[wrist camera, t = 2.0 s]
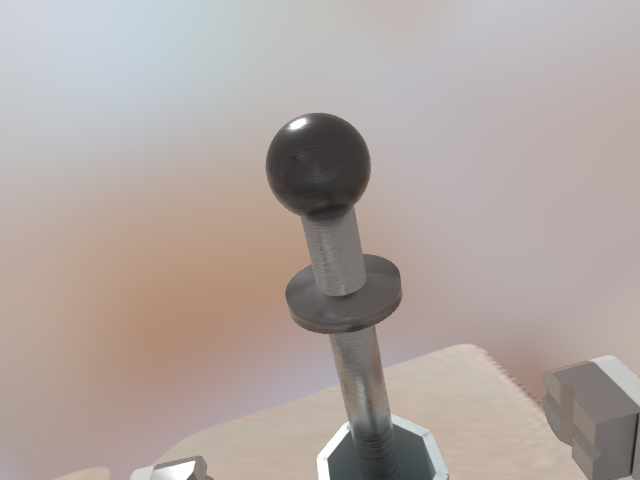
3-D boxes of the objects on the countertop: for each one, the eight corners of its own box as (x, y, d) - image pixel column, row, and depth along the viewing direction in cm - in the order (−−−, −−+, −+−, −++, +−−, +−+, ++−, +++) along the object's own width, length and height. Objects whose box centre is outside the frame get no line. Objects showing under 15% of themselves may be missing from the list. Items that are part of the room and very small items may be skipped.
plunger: (349, 551, 27) (235, 143, 16) (336, 466, 32) (244, 119, 22) (443, 529, 27) (391, 108, 16) (414, 448, 32) (361, 93, 22)
